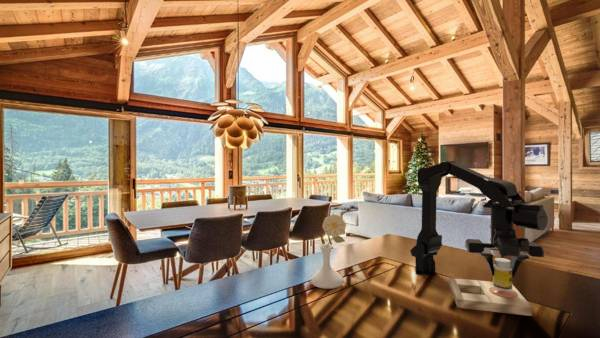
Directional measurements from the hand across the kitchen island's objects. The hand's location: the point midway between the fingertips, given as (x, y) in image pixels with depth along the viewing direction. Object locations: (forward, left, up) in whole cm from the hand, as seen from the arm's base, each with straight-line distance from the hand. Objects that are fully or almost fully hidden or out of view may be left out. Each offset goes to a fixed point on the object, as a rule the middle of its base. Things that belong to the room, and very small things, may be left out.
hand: (502, 276), depth 90 cm
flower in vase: (-52, -2, -8) cm, 53 cm away
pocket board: (-4, 0, -7) cm, 9 cm away
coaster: (0, 0, -5) cm, 5 cm away
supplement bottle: (0, 0, -4) cm, 4 cm away
